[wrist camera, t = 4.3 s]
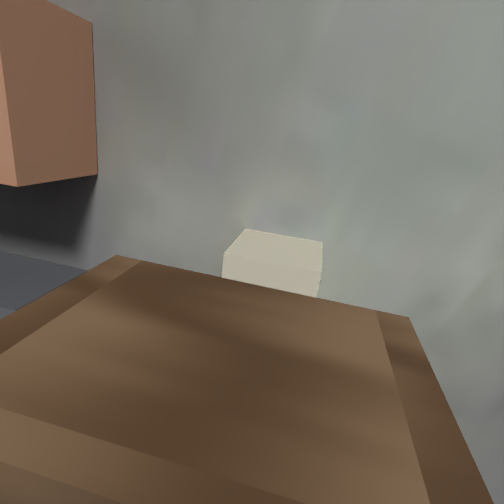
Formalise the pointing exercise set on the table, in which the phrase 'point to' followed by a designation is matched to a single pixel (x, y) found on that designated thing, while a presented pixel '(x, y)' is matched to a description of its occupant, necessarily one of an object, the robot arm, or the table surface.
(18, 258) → the grey box
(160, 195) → the table surface
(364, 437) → the box
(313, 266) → the cream cube
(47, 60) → the terracotta block
